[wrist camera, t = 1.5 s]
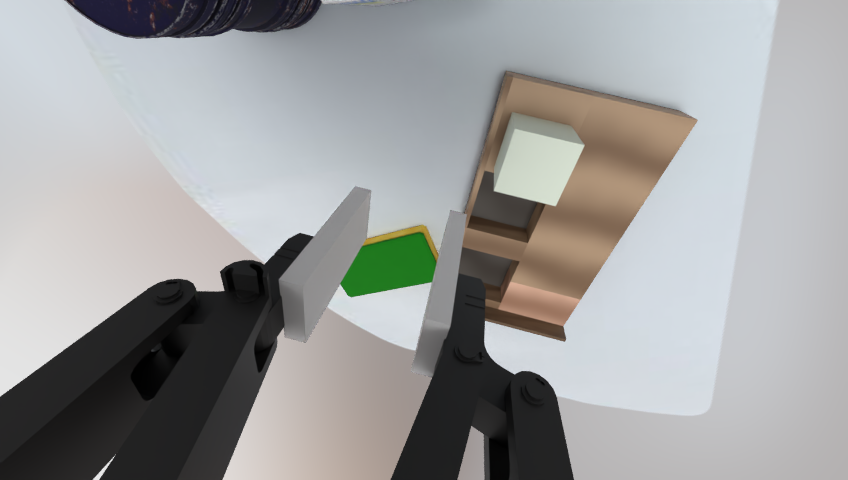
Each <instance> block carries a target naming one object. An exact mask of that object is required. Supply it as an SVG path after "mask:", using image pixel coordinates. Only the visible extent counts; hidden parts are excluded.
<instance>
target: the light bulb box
mask: <svg viewBox="0 0 848 480" xmlns="http://www.w3.org/2000/svg"><path fill="white" fill-rule="evenodd" d="M407 1H413V0H321V2H322V3H323V4H352V5H370V6H381V5H388V4H395V3H401V2H407Z"/></svg>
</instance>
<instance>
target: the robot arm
mask: <svg viewBox="0 0 848 480" xmlns="http://www.w3.org/2000/svg"><path fill="white" fill-rule="evenodd" d="M370 198H371V190H368V189H364V188H360V187H356V186H355V187H354V189H353V190H352V191H351V192H350V194H349V195H348V196H347V197H346V198H345V200H344V201H343V202H342V203H341V204H340V206H339V207H338V208H337V209H336V211H335V212H334V213H333V214H332V215H331V217H330V218H329V219H328V220H327V222H326V223H325V224H324V225H323V226H322V228H321V229H320V230H319V231H318V232H317V234H316V235H315V236H314V237H313V236H310V235H306V234H302V233H299V234H297V235H295V236H293V237H291V238H289V239H288V240H287V241H286V242H285V243H284V244H283V245H282V246H281V248H280V249H278V251H277V252H276V253H275V254H274V256H272V257H271V258H270V259H269V260H268V261H267V262H266V263H265V265H264V264H262V263H261V262H257V261H254V260H243V261H238V262H234V263H232V264H230V265H228V266H226V267H225V268H224V269H223V270H221V271H220V273H221V278H222V282H223V286H224V290H225V291H221V292H206V291H204V292H202V291H201V292H200V291H196V288H195V286H194V284H193V283H191V282H190V281H188V280H183V279H173V280H172V279H171V280H166V281H163V282H160V283H157V284H156V285H154V286H152V287H150V288H148V289H147V290H146V291H144V292H143V293H142V294H140V295H139V296H137V297H136V298H135V299H133V300H132V301H131V302H129V303H128V304H127V305H125V306H124V307H122V308H121V309H120V310H118V311H117V312H116V313H114V314H113V315H111V316H110V317H109V318H107V319H106V320H105V321H103V322H102V323H101V324H99V325H98V326H96V327H95V328H94V329H92V330H91V331H90V332H88V333H87V334H85V335H84V336H83V337H82V338H80V339H79V340H77V341H76V342H75V343H73V344H72V345H70V346H69V347H68V348H66V349H65V350H64V351H62V352H61V353H59V354H58V355H57V356H55V357H54V358H53V359H51V360H50V361H49V362H47V363H46V364H44V365H43V366H42V367H40V368H39V369H38V370H36V371H35V372H33V373H32V374H31V375H29V376H28V377H27V378H25V379H24V380H23V381H21V382H20V383H18V384H17V385H16V386H14V387H13V388H12V389H10V390H9V391H7V392H6V393H5V394H3V395H2V396H1V397H0V480H93V478H94V477H95V476H96V475H97V474H98V473H99V472H100V471H101V470H102V469H103V468H104V466H105V465H106V464H107V463H108V462H109V461H110V460H111V459H112V458H113V457H114V456H115V457H114V459H113V460H112V462H111V463H110V464H109V466H108V468H107V469H106V470H105V472H104V474H103V475H102V476H101V478H100V480H222V479H223V477H224V474H225V472H226V470H227V467H228V465H229V462H230V460H231V457H232V455H233V453H234V450H235V448H236V445H237V443H238V440H239V438H240V436H241V433H242V431H243V428H244V426H245V423H246V421H247V418H248V416H249V414H250V411H251V409H252V406H253V404H254V402H255V399H256V397H257V394H258V392H259V389H260V387H261V385H262V382H263V380H264V377H265V375H266V372H267V370H268V367H269V365H270V363H271V360H272V358H273V355H274V353H275V351H276V348H277V336H278V335H279V333H280V332H281V330H282V329H283V327H284V335H285V337H286V338H290V339H293V340H297V341H301V342H304V343H306V342H307V340H308V338H309V337H310V335H311V333H312V331H313V330H314V328H315V326H316V324H317V323H318V321H319V319H320V317H321V316H322V314H323V312H324V311H325V309H326V307H327V306H328V304H329V302H330V300H331V299H332V297H333V295H334V293H335V292H336V290H337V288H338V287H339V285H340V283H341V281H342V280H343V278H344V276H345V275H346V273H347V271H348V269H349V268H350V266H351V264H352V262H353V261H354V259H355V257H356V256H357V254H358V252H359V250H360V249H361V247H362V245H363V244H364V242H365V240H366V238H367V229H368V219H369V209H370ZM466 217H467V214H464V213H460V212H456V211H452V210H450V214H449V218H448V222H447V225H446V229H445V233H444V237H443V241H442V244H441V248H440V252H439V256H438V260H437V264H436V268H435V272H434V277H433V281H432V285H431V289H430V293H429V297H428V302H427V306H426V310H425V314H424V318H423V323H422V327H421V331H420V335H419V339H418V343H417V348H416V352H415V357H414V360H413V364H412V369H411V372H414V373H417V374H421V375H425V376H428V377H432V380H431V382H430V385H429V387H428V389H427V392H426V394H425V397H424V399H423V402H422V404H421V407H420V409H419V411H418V414H417V416H416V419H415V421H414V424H413V426H412V429H411V431H410V434H409V436H408V439H407V441H406V444H405V446H404V448H403V451H402V453H401V456H400V458H399V461H398V463H397V466H396V468H395V470H394V473H393V476H392V478H391V480H457V478H458V475H459V471H460V467H461V463H462V459H463V455H464V452H465V448H466V444H467V440H468V436H469V432H470V428H471V426H473V427H474V428H476V429H477V430H479V431H480V432H482V433H483V434H484V471H485V480H574V478H573V473H572V469H571V464H570V459H569V454H568V449H567V444H566V440H565V435H564V430H563V426H562V420H561V416H560V411H559V406H558V401H557V397H556V395H555V392H554V390H553V388H552V387H551V385H550V384H549V383H548V382H547V381H546V380H545V379H544V378H543V377H541V376H540V375H538V374H536V373H533V372H530V371H521V372H519V373H517V374H515V375H514V374H513V373H511V372H509V371H507V370H506V369H504V368H502V367H501V366H499V365H498V364H497V363H495V362H494V361H493V360H492V359H491V358H490V356H489V355H488V353H487V351H486V349H485V345H484V329H485V300H486V288H485V286H484V284H483V282H482V280H481V279H479V278H475V277H471V276H468V275H464V274H460V273H458V271H459V264H460V258H461V251H462V244H463V237H464V230H465V223H466Z"/></svg>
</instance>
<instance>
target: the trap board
mask: <svg viewBox="0 0 848 480" xmlns="http://www.w3.org/2000/svg"><path fill="white" fill-rule="evenodd" d="M512 112H514V113H518V114H523V115H527V116H531V117H535V118H540V119H544V120H548V121H552V122H557V123H561V124H565V125H569V126H572V127H573V129H574V130H575V132H576V133H577V135H578V136H579V138H580V139H581V141H582V142H583V144H584V145H585V146H584V148H583V150H582V152H581V154H580V156H579V159H578V161H577V163H576V165H575V167H574V169H573V171H572V173H571V175H570V177H569V179H568V182H567V184H566V186H565V188H564V190H563V192H562V194H561V196H560V198H559V200H558V202H557V205H556V206H552V205H548V204H544V203H540V202H536V201H532V200H528V199H524V198H520V197H516V196H512V195H508V194H504V193H500V192H496V191H494V166H495V163H496V160H497V157H498V154H499V151H500V148H501V145H502V142H503V139H504V135H505V132H506V129H507V126H508V123H509V120H510V117H511V114H512ZM697 121H698V120H697V119H695V118H693V117H691V116H689V115H687V114H685V113H683V112H681V111H678V110H674V109H670V108H665V107H661V106H657V105H652V104H648V103H644V102H639V101H635V100H631V99H626V98H622V97H618V96H613V95H609V94H604V93H600V92H596V91H591V90H587V89H583V88H578V87H574V86H570V85H565V84H561V83H557V82H552V81H548V80H544V79H539V78H535V77H531V76H526V75H522V74H518V73H513V72H509V71H506V73H505V77H504V80H503V83H502V87H501V90H500V94H499V97H498V100H497V104H496V107H495V111H494V114H493V117H492V121H491V124H490V128H489V131H488V134H487V138H486V141H485V145H484V148H483V151H482V155H481V158H480V161H479V165H478V168H477V172H476V175H475V178H474V182H473V185H472V189H471V192H470V195H469V199H468V202H467V206H466V209H465V212H464V214H467V217H466V223H465V230H464V237H463V244H462V251H461V258H460V264H459V271H458V273H460V274H464V275H468V276H471V277H475V278H479V279H481V280H482V282H483V284H484V286H485V288H486V300H485V321H488V322H492V323H496V324H500V325H504V326H507V327H511V328H515V329H519V330H523V331H526V332H530V333H534V334H538V335H542V336H545V337H549V338H553V339H557V340H560V341H564V342H565V340H566V337H565V332H564V327H563V326H564V324H565V323H566V321H567V320H568V318H569V317H570V315H571V313H572V312H573V310H574V309H575V307H576V306H577V304H578V303H579V301H580V300H581V298H582V297H583V295H584V294H585V292H586V291H587V289H588V287H589V286H590V284H591V283H592V281H593V280H594V278H595V277H596V275H597V274H598V272H599V271H600V269H601V268H602V266H603V265H604V263H605V261H606V260H607V258H608V257H609V255H610V254H611V252H612V251H613V249H614V248H615V246H616V245H617V243H618V242H619V240H620V238H621V237H622V235H623V234H624V232H625V231H626V229H627V228H628V226H629V225H630V223H631V222H632V220H633V219H634V217H635V216H636V214H637V212H638V211H639V209H640V208H641V206H642V205H643V203H644V202H645V200H646V199H647V197H648V196H649V194H650V193H651V191H652V190H653V188H654V186H655V185H656V183H657V182H658V180H659V179H660V177H661V176H662V174H663V173H664V171H665V170H666V168H667V167H668V165H669V163H670V162H671V160H672V159H673V157H674V156H675V154H676V153H677V151H678V150H679V148H680V147H681V145H682V144H683V142H684V141H685V139H686V137H687V136H688V134H689V133H690V131H691V130H692V128H693V127H694V125H695V124H696V122H697Z"/></svg>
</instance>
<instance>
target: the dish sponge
mask: <svg viewBox="0 0 848 480" xmlns="http://www.w3.org/2000/svg"><path fill="white" fill-rule="evenodd" d="M438 256H439V255H438V253H437V250H436V248H435V246H434V244H433V241H432V239H431V237H430V234H429V232H428V230H427V228H426V226H424V225H420V226H416V227H412V228H408V229H404V230H400V231H396V232H392V233H388V234H384V235H380V236H376V237H373V238H369V239H366V240H365V242H364V244H363V245H362V247H361V249H360V250H359V252H358V254H357V256H356V257H355V259H354V261H353V262H352V264H351V266H350V268H349V269H348V271H347V273H346V275H345V276H344V278H343V280H342V281H341V283H340V284H341V286H342V287H343V289H344V290H345V292H346V293H347V295H348V296H350V297H355V296H360V295H365V294H371V293H376V292H381V291H387V290H392V289H397V288H403V287H408V286H414V285H419V284H424V283H430V282H432V281H433V277H434V272H435V268H436V264H437V260H438Z"/></svg>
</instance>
